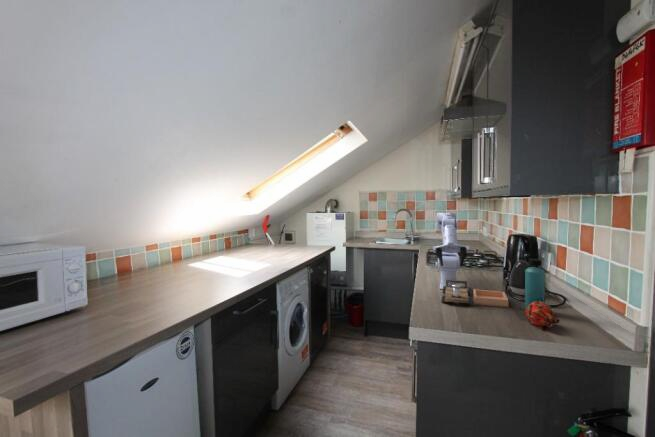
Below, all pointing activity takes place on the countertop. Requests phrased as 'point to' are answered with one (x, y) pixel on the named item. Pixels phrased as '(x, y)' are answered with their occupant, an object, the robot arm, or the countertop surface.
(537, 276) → the teal bottle
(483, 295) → the tray
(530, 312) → the dragon fruit
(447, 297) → the trolley
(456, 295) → the pin
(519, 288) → the pump dispenser
